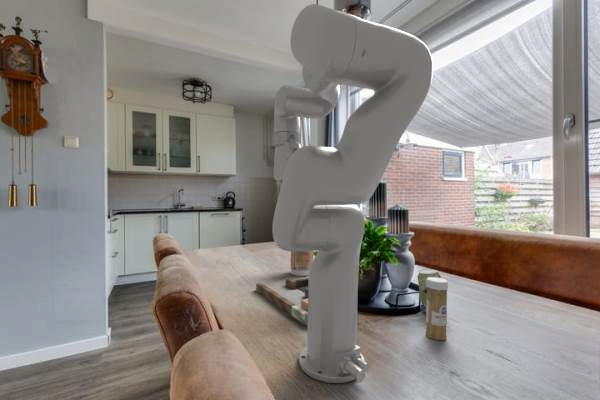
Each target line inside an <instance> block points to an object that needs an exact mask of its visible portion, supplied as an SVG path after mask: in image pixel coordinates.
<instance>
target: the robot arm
mask: <svg viewBox="0 0 600 400" xmlns="http://www.w3.org/2000/svg"><path fill="white" fill-rule="evenodd" d="M289 44H290V50H291V53H292V55H293V57H294V59H296V61H297V62H298V63H299V64H300V65H301V66H302V70H301V75H302V79H303V82H304V84H305V85H306V87H301V86H294V85H291V84H290V85H289V84H285V85H284V84H283V85H281V86H280V87H279V89H278V90H277V91H276V93H275V99H274V100H275V101H274V105H273V106H274V109H273V110H274V113H273V115H274V117H273V118H274V119H273V121H274V122H273V129H274V130H273V147H274V155H273V156H274V157H273V178H274V180H276V185H277V186H279V193H278V198H277V202H276V206H275V210H274V214H273V218H272V219H273V220H272V231H271V232H272V238H273V241H274V243H275V244H276V246H277V247H278V248H280V249H281V250H283V251H285V252H291V251H313V252H314V251H317V253H316V255H315V256H314V258H313V262H312V264H311V266H310V270H309V275H308V278H309V279H308V298H307V299H308V327H307V338H306V339H307V345H306V346H305V347H303V348H302V349H301V350H300V353H299V354H298V356H299V357H298V363H299V364H298V365H299V366H300V368H301V370H302V371H303V372H304V373H305V374H306V375H308V377H311V378H313V379H315V380H316V381H317V380H318V381H320V382H325V383H332V384H342V383H343V384H344V383H348V382H351V381H354V380H355V381H356V382H358V383H362V382H363V381H364V379H365V377H366V372H368V371H369V369H370V368H371V367H370V364H369V363H368V362H367V361H365V357H364V355H363V354H362V352H361V348H362V347H360V346H359V345H357V344H358V343H357V342H358V301H359V299H358V295H359V293H358V291H359V290H358V289H359V266H360V265H359V264H360V254H361V249H362V248H361V247H362V242H363V238H364V234H365V226H366V223H365V217H364V214H363V212H362V209H361V208H360V207H359V206H358V205H361V204H364V203H367V202H368V201H369V200H370V199H371V198H372V197H373V195H374V193H375V191H376V190H377V188H378V186H379V184H380V181H381V180H382V178H383V175H384V174H385V172H386V170H387V167H388V165H389V164H390V161H391V159H392V157H393V156H394V153H395V151H396V148H397V146H398V144H399V142H400V140H401V139H402V137H403V135H404V133H405V131H406V130H407V128H408V126H409V125H410V124H411V122H412V121H413V120H414V118H415V116H416V115H417V113H418V112H419V110H420V109H421V107H422V106H423V104H424V101H425V100H426V98H427V96H428V94H429V91H430V88H431V85H432V80H433V74H434V64H433V63H434V62H433V61H434V60H433V57H432V54H431V51H430V49H429V47H428V46H427V45H426V43H424V42H423V41H422V40H420V39H419V38H418V37H417V36H415V35H412V34H410V33H408V32H405V31H403V30H400V29H397V28H395V27H391V26H387V25H384V24H380V23H377V22H373V21H369V20H366V19H363V18H361V17H359V16H356V15H354V14H351V13H347V12H345V11H340V10H337V9H334V8H331V7H327V6H323V5H321V4H315V3H311V4H308V5H306V6H305V7H304V8H302V9H301V11H300V12H299V13H298V15H297V16H296V18H295V19H294V21H293V24H292V29H291V32H290V43H289ZM340 85H344V86H350V87H355V88H360V89H367V90H373V92H374V93H373V94H372V96H370V97H369V98H367V99H366V100H364V101H363V103H361V104H360V105H359V106H357V108H356V109H355V110H354V111H353V112H352V114H350V116H349V117H348V119H347V121H346V123H345V125H344V128H343V132H342V135H341V136H340V140H339V141H338V143H337V144H336V145H334V146H321V145H306V146H305V145H304V146H302V145H301V118H302V119H303V118H304V119H310V120H311V119H312V120H321V119H323V118H326V116H328V115H329V114H330V113H332V112H333V111H334V110H335V108H336V106H337V104H338V101H339V99H340V94H341V93H340V91H341V88H340Z"/></svg>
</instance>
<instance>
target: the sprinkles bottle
mask: <svg viewBox="0 0 600 400" xmlns="http://www.w3.org/2000/svg"><path fill="white" fill-rule="evenodd" d="M426 286H427V299H426V312H425V322H426V323H425V324H426V325H425V336H427V337H428V338H429V339H432V340H435V341H444V340H447V323H448V321H447V320H448V319H447V318H448V311H447V310H448V307H447V306H448V304H447V303H448V302H447V301H448V297H447V296H448V293H447V292H448V287H449V281H448V280H447V279H445V278H437V277H429V278H427V279H426Z"/></svg>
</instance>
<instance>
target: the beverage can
mask: <svg viewBox="0 0 600 400" xmlns="http://www.w3.org/2000/svg"><path fill="white" fill-rule="evenodd" d="M429 277H437V278H441V277H442V276H441V275H440V273H439V272H438V270H436V269H422V270H419V271H418V275H417V284H418V289H419V294H420V295H419V297H420V303H421V309H422V311H423V312H424V313H426V299H427V286H426V279H427V278H429Z"/></svg>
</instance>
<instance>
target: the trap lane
mask: <svg viewBox="0 0 600 400" xmlns="http://www.w3.org/2000/svg"><path fill="white" fill-rule="evenodd" d="M284 279H285V285H284V286H286V287H288V288H289V289H291V290H295V289H298V290H300V291H301V292H303V293H304V297H305V298H306V299H308V279H309V277H307V278H300V279H293V278H291V277H288V278H284ZM255 286H256V287H255V291H256V292H258V293H259V294H260V295H262V296H263V297H265V298H266V299H268V300H269V301H270V302H272V303H273V304H275V305H276V306H277V307H279V308H280V309H282V310H283V311H284V312H286V313H287V314H289V315H290V316H291V317H293V318H294V319H296V320H297V321H298V322H300V323H301V324H303V326H306V327H307V328H308V312H306V311H305V310H303V309H301V306H298V305H297V304H295V303H294V302H292V301H291V300H288V299H287V298H285V297H284V296H283V295H281V294H279V293H278V292H277V291H274V290H273V289H272V288H270V287H268V286H266V285H265V284H263V283H262V282H256V284H255Z"/></svg>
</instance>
